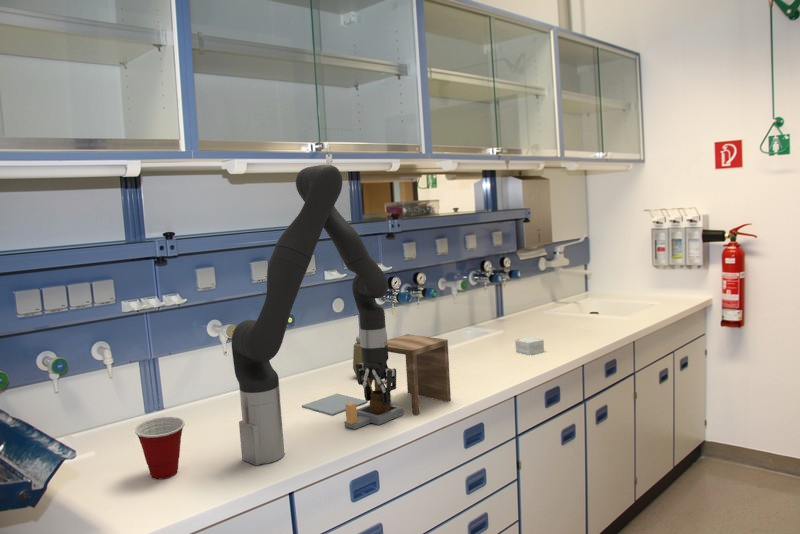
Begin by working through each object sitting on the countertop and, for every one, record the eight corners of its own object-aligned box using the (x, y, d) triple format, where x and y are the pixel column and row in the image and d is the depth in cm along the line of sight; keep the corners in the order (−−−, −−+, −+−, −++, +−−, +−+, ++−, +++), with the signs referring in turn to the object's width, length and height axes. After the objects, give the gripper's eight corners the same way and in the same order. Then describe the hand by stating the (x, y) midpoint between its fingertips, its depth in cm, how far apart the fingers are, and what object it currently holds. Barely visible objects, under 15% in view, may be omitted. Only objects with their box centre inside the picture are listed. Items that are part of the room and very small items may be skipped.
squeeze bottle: (381, 376, 216) (378, 325, 214) (365, 382, 210) (361, 329, 208) (365, 373, 221) (362, 323, 219) (348, 378, 215) (345, 327, 213)
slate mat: (332, 415, 177) (332, 414, 177) (301, 407, 187) (301, 405, 187) (367, 402, 187) (367, 401, 187) (337, 394, 197) (337, 393, 197)
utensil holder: (391, 419, 171) (389, 376, 170) (368, 420, 171) (366, 378, 170) (392, 412, 177) (389, 371, 176) (370, 413, 177) (367, 372, 176)
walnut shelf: (416, 415, 173) (412, 350, 171) (375, 405, 184) (371, 344, 182) (450, 400, 184) (447, 339, 183) (410, 392, 195) (407, 334, 194)
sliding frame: (362, 431, 162) (360, 408, 162) (337, 424, 169) (335, 401, 169) (403, 414, 174) (402, 392, 173) (378, 408, 181) (377, 387, 180)
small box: (544, 352, 236) (544, 339, 235) (529, 356, 232) (529, 342, 231) (530, 349, 242) (529, 336, 242) (515, 352, 238) (514, 339, 238)
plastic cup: (146, 489, 136) (140, 436, 135) (134, 474, 144) (129, 424, 143) (195, 474, 142) (191, 424, 141) (181, 460, 151) (176, 412, 150)
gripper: (346, 343, 174) (350, 401, 176) (382, 349, 164) (386, 411, 166) (365, 338, 179) (369, 394, 181) (402, 343, 170) (405, 403, 171)
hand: (377, 402), depth 173 cm, fingers open, 6 cm apart
